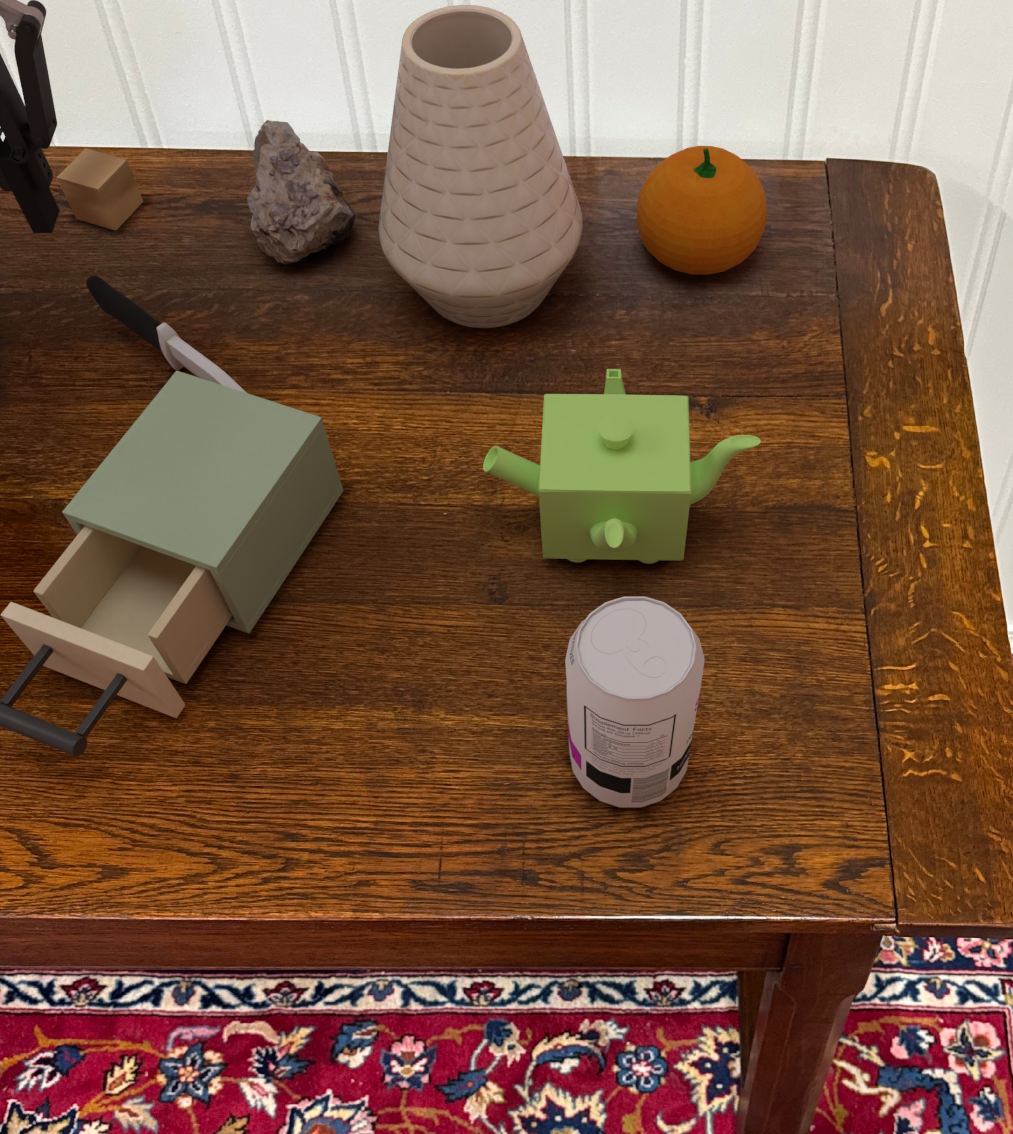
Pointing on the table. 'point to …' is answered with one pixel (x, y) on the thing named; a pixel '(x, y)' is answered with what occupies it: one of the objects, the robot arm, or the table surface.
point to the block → (100, 189)
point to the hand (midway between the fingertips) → (46, 221)
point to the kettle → (615, 474)
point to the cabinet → (217, 487)
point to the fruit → (701, 211)
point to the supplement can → (632, 700)
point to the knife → (156, 334)
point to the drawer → (114, 630)
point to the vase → (475, 172)
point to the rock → (294, 197)
